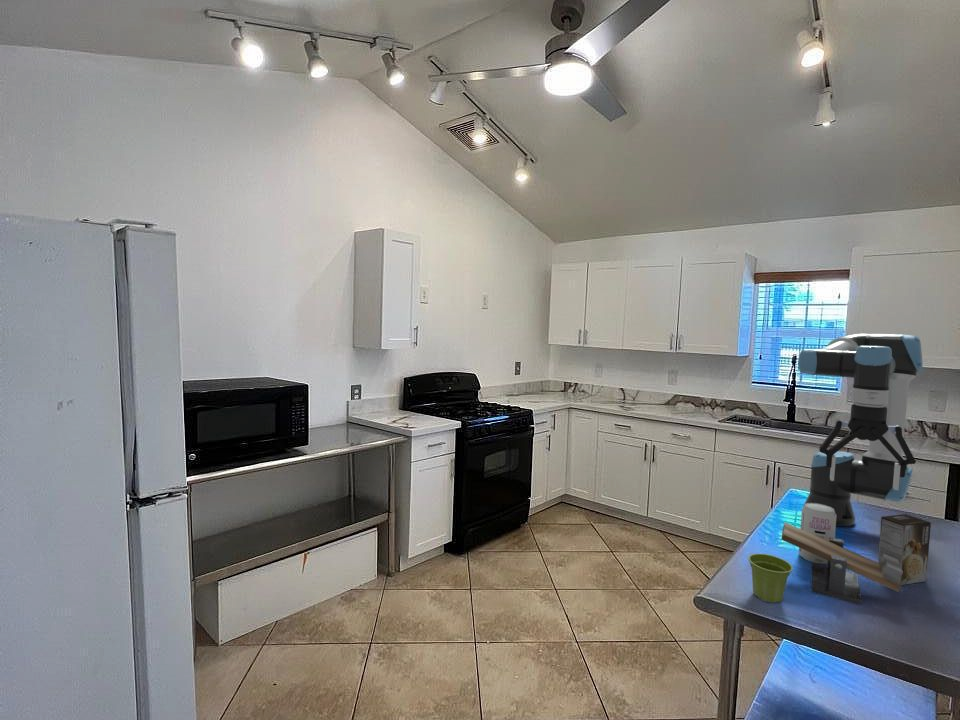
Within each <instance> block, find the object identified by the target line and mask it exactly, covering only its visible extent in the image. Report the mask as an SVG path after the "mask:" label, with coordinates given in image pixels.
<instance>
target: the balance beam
mask: <svg viewBox="0 0 960 720" xmlns="http://www.w3.org/2000/svg"><path fill="white" fill-rule="evenodd" d="M781 541H783V542H786V543H789V544H790V545H793V546H795V547H797V548H798V549H799V548H801V549H804V550H806V551H808V552H810V553H812V554H815V555H817V556H819V557H821V558H824V559H826V560H828V561H830V562H831V555H833V556H838V557H842V558H846V561H847V563H846V570H847V571H849V572H854V573H857V575H860V576H862V577H864V578H866V579H869V580H871V581H873V582H875V583H878V584H880V585H882V586H884V587H886V588H888V589H890V590H893V591H895V592H898V593H899V592H900V589H901V587H902V585H900V582H899V580H900V578H901V576H902V574H903V571H902V569H901V566H900V564H899V561H898V560H897V559H895V558H892V557H890V556H888V555H885V554H883V556H882V558H881V560H880V563H878V561H875V560H873V559H871V558H868V557H866V556H865V555H864V556H863V555H861V554H859V553H857V552H855V551H853V550H850V549H848V548H845V547H844V546H843V547H841V546H839V545H836V544H834V543H832V542H829V541H827V540H825V539H822V538H820V537H818V536H816V535H813V534H811V533H809V532H806V531H804V530H802V529H800V528H799V527H796V526H795V525H792V524H790V523H789V522H784V524H783V526H782V531H781Z"/></svg>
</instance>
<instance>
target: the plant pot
mask: <svg viewBox="0 0 960 720" xmlns="http://www.w3.org/2000/svg"><path fill="white" fill-rule="evenodd" d="M747 558H748V562H749V564H750V565H749V566H750V567H751V577H752V590H753V591H752V593H753V595H754V596H757V598H758V599H759V600H762V601H764V602H767V603H770V602H771V604H775V603H781V602H782V600H783V597H784V593H785V589H786V585H787V581H788V577H790V574H791V573H792V571H793V570H794V567H793V566H792V563H790V562H788V561H787V560H785V559H783V558H781V557H778V556H775V555H772V554H767V553H752V554H750V555H749V556H747Z"/></svg>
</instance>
